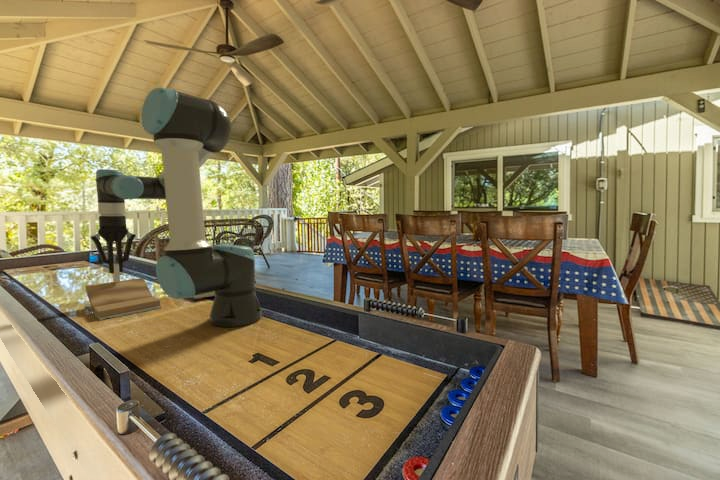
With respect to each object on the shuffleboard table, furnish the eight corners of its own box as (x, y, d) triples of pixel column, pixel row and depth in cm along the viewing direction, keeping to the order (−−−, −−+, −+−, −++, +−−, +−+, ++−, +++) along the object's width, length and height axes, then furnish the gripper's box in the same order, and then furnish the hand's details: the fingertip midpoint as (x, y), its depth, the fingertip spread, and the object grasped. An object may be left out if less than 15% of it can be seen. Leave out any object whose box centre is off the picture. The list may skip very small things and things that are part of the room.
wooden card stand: (161, 308, 116) (160, 300, 116) (99, 320, 103) (99, 312, 103) (142, 296, 130) (141, 289, 130) (86, 306, 117) (85, 299, 117)
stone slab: (194, 279, 150) (221, 289, 129) (195, 286, 151) (222, 297, 129) (168, 283, 143) (193, 295, 122) (169, 291, 144) (193, 304, 122)
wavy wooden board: (152, 300, 122) (152, 296, 121) (93, 311, 109) (93, 306, 109) (142, 281, 128) (143, 277, 127) (85, 290, 115) (85, 285, 114)
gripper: (131, 214, 124) (134, 276, 127) (86, 214, 115) (91, 282, 118) (137, 215, 119) (140, 280, 122) (90, 216, 110) (96, 286, 113)
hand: (116, 281), depth 120 cm, fingers closed
